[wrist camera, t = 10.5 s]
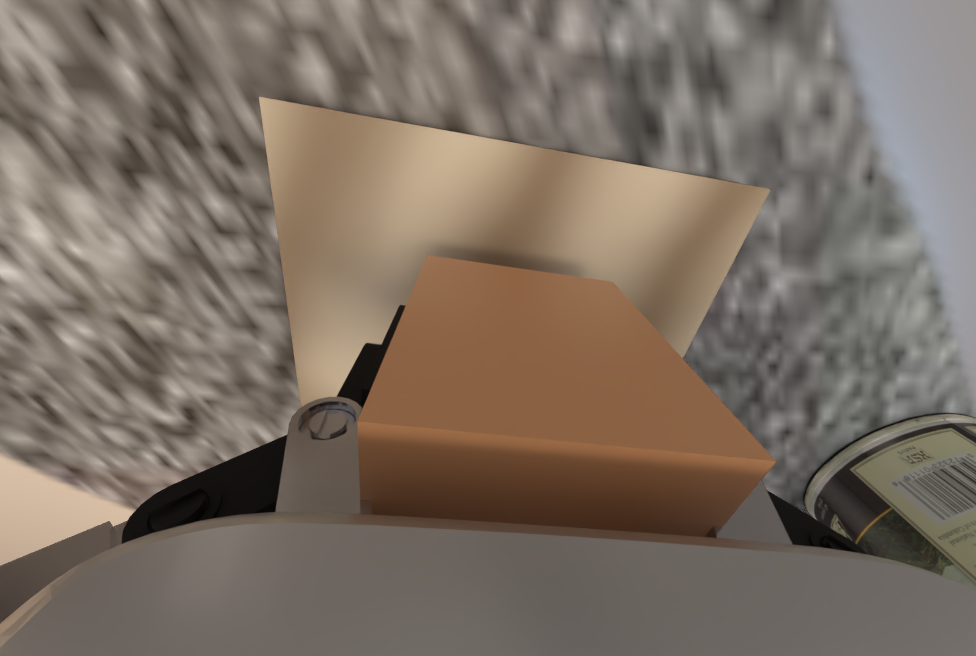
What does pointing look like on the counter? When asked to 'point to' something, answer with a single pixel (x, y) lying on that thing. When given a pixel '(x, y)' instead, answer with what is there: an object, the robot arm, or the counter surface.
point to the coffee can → (906, 494)
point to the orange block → (546, 411)
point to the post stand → (476, 226)
